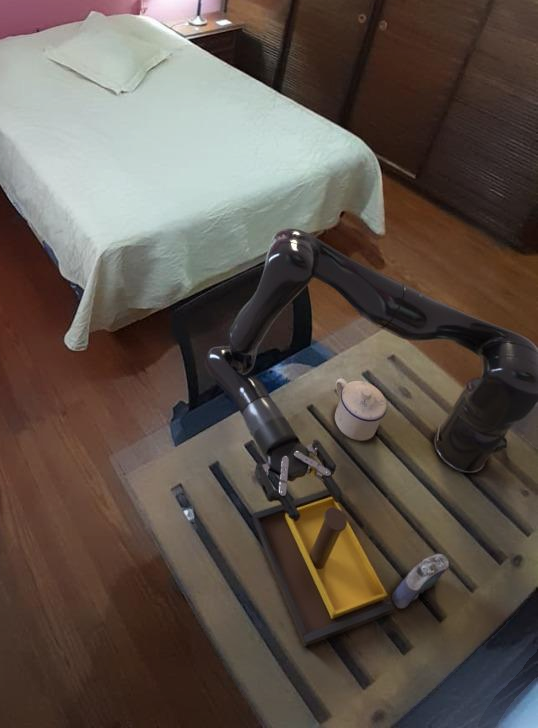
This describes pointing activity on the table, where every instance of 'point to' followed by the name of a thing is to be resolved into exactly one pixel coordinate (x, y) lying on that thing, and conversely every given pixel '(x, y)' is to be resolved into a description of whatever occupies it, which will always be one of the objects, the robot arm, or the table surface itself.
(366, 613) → the track
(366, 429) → the teacup with lid
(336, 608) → the tray
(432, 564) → the flask
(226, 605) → the table surface
